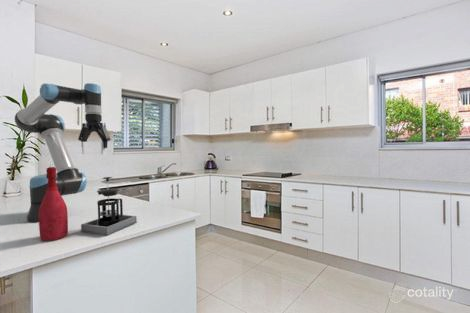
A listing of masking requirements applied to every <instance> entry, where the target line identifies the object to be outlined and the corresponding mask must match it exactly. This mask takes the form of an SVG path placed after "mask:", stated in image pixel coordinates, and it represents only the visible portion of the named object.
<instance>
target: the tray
mask: <svg viewBox="0 0 470 313" xmlns="http://www.w3.org/2000/svg"><path fill="white" fill-rule="evenodd" d="M110 216H111V215H110ZM115 216H117V214H115ZM119 216H120V214H119ZM106 217H107V216H106ZM100 218H103V217H102V216H100ZM137 220H138V218H137V216H136V215H128V214H123V216H122V217H119V222H118V223H116V224H113V225H111V226H108V227H104V226H98V218H96V219H93V220H91V221H87V222H85V223H81V225H80V226H81V227H80V229H81V233H84V234H92V235H99V236H104V237H105V236H106V237H107V236H110V235H113V234H115V233H117V232H119V231H122V230H124V229H126V228H128V227H130V226H133V225H136V224H137V222H138V221H137ZM135 223H136V224H135Z"/></svg>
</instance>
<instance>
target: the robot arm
mask: <svg viewBox="0 0 470 313" xmlns="http://www.w3.org/2000/svg"><path fill="white" fill-rule="evenodd" d="M101 91H102V88H101V85H99V84H96V83H90V82H89V83H85V84H84V86H83V89H81V88H79V89H78V88H73V87H67V86H62V85H58V84H54V83H42V84H41V85H40V87H39V95H38V96H37V97H36V98H35V99H34V100H33V101H31V103H29V104H28V105H27V106H26V107H24V108H22V109H20V110H18V111H17V112H16V113H15V116H14V122H15V125H16V126H17V127H18V128H19V129H20V130H22V131H24V132H26V133H31V134H33V133H34V134H39V136H40V137H41V138H42V139H44V140H45V142H46V143H45V144H46V146H47V149H48V151H49V154H50V156H51V159H52V162H53V164H54V167H55V168H56V175H57V177H56V186H57V187H58V191H59V193H60V195H61V196H62V197H63V196H68V195H74V194H75V195H76V194H78V193H82V192H83V191H85V190H86V187H87V182H88V181H87V175H86V174H85V173H83V172H80V171H79V168H77V167H74V164H73V162H72V159H71V156H70V153H69V150H68V149H67V146H66V143H65V141H64V139H63V134H64V131H65V130H66V124H65V121H64V119H63V117H62V116H59V115H56V114H51V113H50V114H49V113H48V114H46V113H47V112H48V111H49V110H50V109H52V108H53V107H54V106H56V105H57V104H58V103H59V102H63V103H73V104H75V105H80V106H81V105H84V113H85V114H84V119H85V123H84V122H83V123H81V128H80V129H81V130H80V133H79V135H78V138H77V140H78V141H80V142H81V149H82V155H88V154H89V142H88V139H89V137H90V135H91V134H92V133H93V132H95V133H96V134H97V135H98V136H99V138H100V139H101V142H100V145H101V146H100V147H101V150H100V151H101V152H100V153H101V155H108V142H109V141H111V140H112V138H111V137H110V134H109V131H108V129H107V126H106V123H105V122H102V121H103V120H102V112H103V111H102V92H101ZM46 175H47V173H44V174H39V175H35V176H33V177H31V178H30V179H29V186H28V187H29V195H30V196H29V197H30V208H29V209H28V210H29V211H28V213H27V216H26V220H27V222H29V223H39V209H40V205H41V203H42V201H43V198H44V196H45V194H46V191H47V187H48V179H47V178H46Z"/></svg>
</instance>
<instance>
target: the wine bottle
mask: <svg viewBox="0 0 470 313" xmlns="http://www.w3.org/2000/svg"><path fill="white" fill-rule="evenodd" d="M56 173H57V170H56V167H55V166H49V167H47V168H46V174H47V175H46V178H47V179H48V187H47V191H46V194H45V196H44V198H43V201H42V203H41V205H40V209H39V222H38V229H39V237H40V239H41V241H45V242H50V241H57V240H60V239H62V238H64V237H66V236H68V233H69V230H68V229H69V221H68V220H69V216H68V214H69V213H68V208H67V207H68V206H67V204H66V202H65V200H64V198H63V196H61V195H60V193H59V191H58V187H57V186H56V177H57V175H56Z"/></svg>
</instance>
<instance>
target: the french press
mask: <svg viewBox="0 0 470 313" xmlns="http://www.w3.org/2000/svg"><path fill="white" fill-rule="evenodd" d="M101 179H103V180H105V181H106V182H107V183H106V185H107V188H105V189H104V188H103V189H99V190H97V191H96V193H97V195H99V196H100V195H102V196H104V197H107V198H103V199H100V200H97V219H98V226H104V227H108V226H111V225H113V224H116V223H118V222H119V217H122V216H123V215H124V214H123V213H124V212H123V210H124V209H123V198H110V197H113V196H116V195H118V191H119V188H109V180H111V179H113V177H112V176H105V177H102V178H101ZM110 208H111V209H110ZM101 209H102V210H101ZM119 210H120V212H119ZM119 213H120V216H119ZM115 214H117V216H115ZM110 215H111V216H110ZM106 216H107V217H106ZM101 217H103V218H101Z"/></svg>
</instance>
